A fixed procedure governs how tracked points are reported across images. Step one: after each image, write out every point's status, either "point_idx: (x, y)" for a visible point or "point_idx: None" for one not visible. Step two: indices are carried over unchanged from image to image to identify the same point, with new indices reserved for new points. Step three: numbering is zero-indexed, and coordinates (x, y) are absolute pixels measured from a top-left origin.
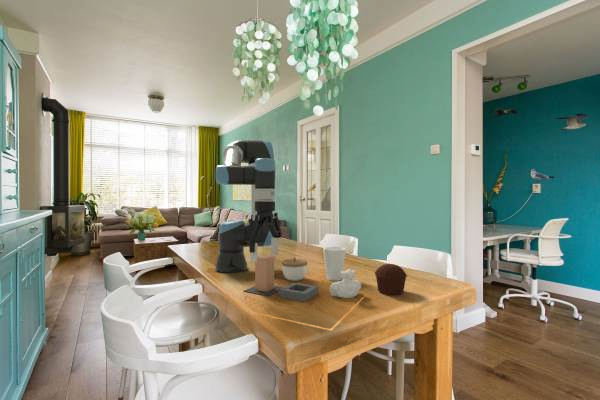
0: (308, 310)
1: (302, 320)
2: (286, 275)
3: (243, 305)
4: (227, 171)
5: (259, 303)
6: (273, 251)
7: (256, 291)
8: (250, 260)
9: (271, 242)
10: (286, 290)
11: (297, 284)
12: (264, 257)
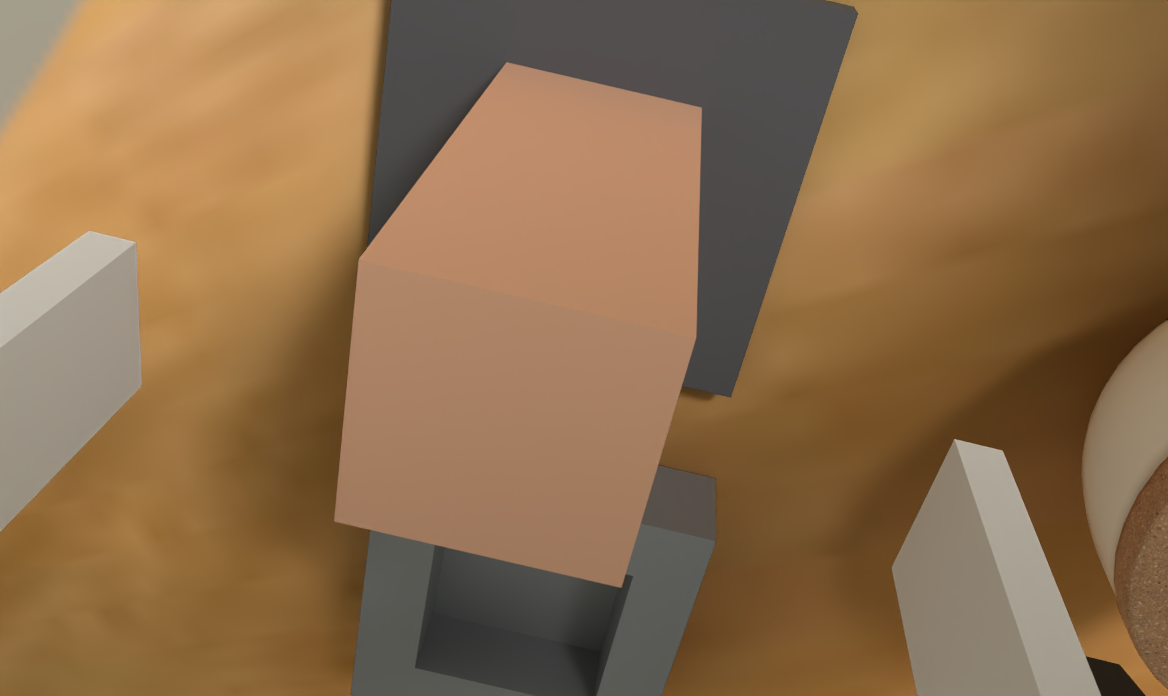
0: (234, 667)
1: (43, 656)
2: (1127, 365)
3: (33, 126)
4: None
5: (172, 265)
6: (943, 540)
7: (443, 111)
8: (80, 253)
9: (1028, 682)
10: (379, 532)
11: (641, 589)
12: (414, 456)
